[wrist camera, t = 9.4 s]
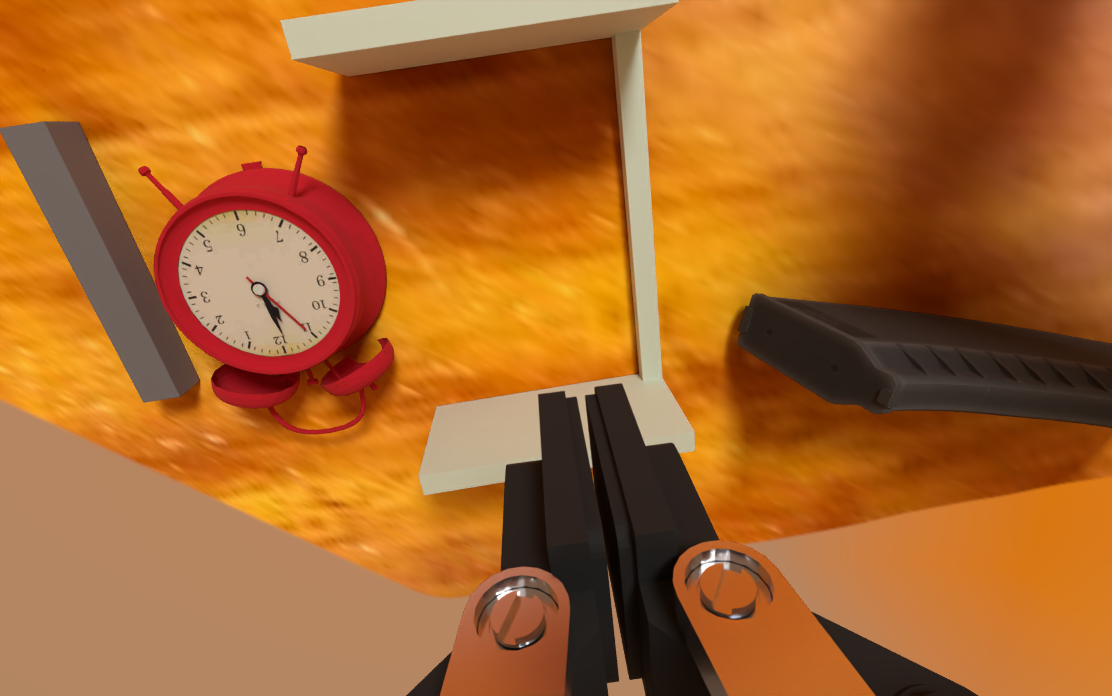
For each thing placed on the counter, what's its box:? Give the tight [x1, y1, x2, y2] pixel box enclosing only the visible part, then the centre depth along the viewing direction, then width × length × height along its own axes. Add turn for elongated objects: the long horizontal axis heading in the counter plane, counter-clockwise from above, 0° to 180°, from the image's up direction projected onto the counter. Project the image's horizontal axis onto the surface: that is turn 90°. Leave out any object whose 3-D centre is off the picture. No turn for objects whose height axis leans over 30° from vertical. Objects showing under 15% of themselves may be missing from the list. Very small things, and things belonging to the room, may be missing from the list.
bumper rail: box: [0, 122, 200, 402], centre depth 27 cm, size 14×2×2 cm, turn 8°
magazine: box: [738, 294, 1112, 428], centre depth 29 cm, size 17×3×30 cm
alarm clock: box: [138, 146, 394, 434], centre depth 27 cm, size 10×6×15 cm
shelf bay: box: [281, 0, 695, 495], centre depth 25 cm, size 21×14×7 cm
